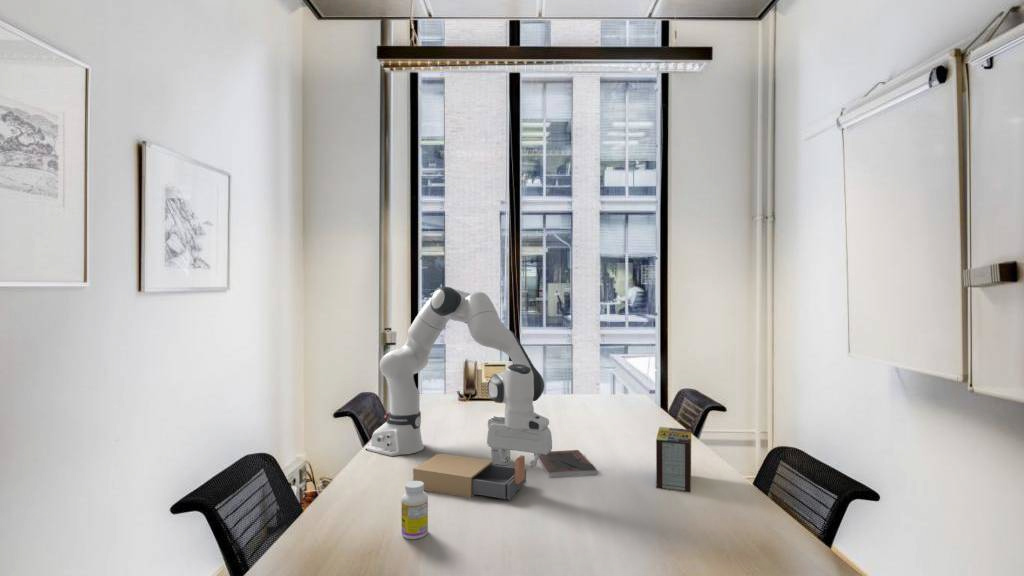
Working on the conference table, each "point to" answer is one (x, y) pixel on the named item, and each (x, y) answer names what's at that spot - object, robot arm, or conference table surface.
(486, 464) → the sleeve
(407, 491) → the supplement bottle
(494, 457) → the syrup box
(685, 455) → the protein box
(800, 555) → the conference table surface
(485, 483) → the tray
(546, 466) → the picture frame
